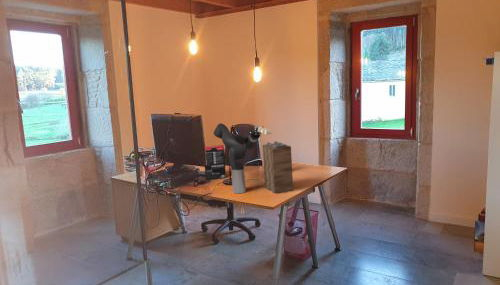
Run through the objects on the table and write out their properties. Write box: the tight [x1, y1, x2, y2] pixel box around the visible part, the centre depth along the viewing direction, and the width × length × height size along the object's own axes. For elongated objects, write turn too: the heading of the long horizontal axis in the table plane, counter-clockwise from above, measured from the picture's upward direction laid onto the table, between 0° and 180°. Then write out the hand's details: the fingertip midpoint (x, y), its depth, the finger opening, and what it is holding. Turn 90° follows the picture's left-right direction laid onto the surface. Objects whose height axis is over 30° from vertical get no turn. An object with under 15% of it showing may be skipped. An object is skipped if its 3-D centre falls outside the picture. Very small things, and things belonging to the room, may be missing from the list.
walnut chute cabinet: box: [262, 141, 294, 194], centre depth 275 cm, size 18×14×34 cm
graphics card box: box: [204, 144, 227, 180], centre depth 315 cm, size 17×7×27 cm, turn 98°
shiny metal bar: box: [254, 126, 272, 136], centre depth 293 cm, size 24×4×3 cm, turn 20°
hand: (260, 127), depth 297 cm, fingers closed on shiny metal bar, 4 cm apart
